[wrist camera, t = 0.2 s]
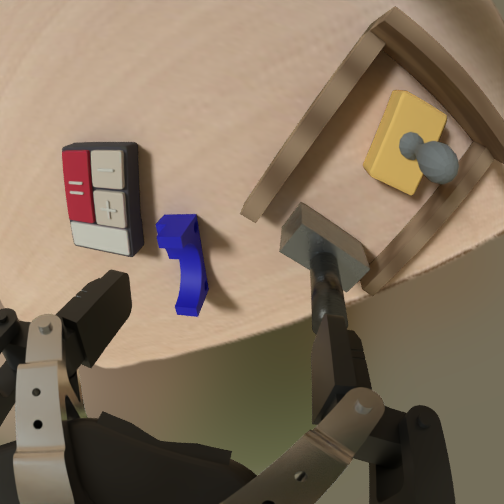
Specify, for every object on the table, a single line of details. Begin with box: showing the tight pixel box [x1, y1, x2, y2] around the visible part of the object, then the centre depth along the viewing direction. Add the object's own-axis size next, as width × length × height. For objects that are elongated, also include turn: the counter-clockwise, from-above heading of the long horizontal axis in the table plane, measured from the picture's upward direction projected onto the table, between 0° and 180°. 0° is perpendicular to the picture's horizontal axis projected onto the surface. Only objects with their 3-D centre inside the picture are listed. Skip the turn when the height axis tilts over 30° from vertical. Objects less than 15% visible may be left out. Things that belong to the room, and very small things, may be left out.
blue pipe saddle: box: [156, 214, 209, 317], centre depth 37 cm, size 12×4×6 cm, turn 3°
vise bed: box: [240, 6, 504, 296], centre depth 26 cm, size 26×20×8 cm
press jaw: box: [279, 202, 370, 335], centre depth 28 cm, size 4×9×14 cm, turn 59°
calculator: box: [62, 142, 144, 257], centre depth 34 cm, size 11×4×15 cm
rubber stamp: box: [363, 90, 459, 195], centre depth 22 cm, size 10×6×12 cm, turn 164°
